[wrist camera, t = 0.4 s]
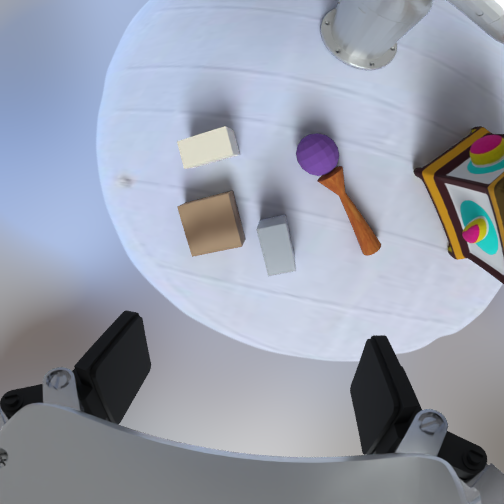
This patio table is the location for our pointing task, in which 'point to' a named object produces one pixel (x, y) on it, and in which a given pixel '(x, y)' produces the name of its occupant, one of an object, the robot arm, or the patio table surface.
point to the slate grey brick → (276, 245)
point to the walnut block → (212, 224)
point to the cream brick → (208, 147)
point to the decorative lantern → (471, 198)
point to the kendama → (334, 183)
